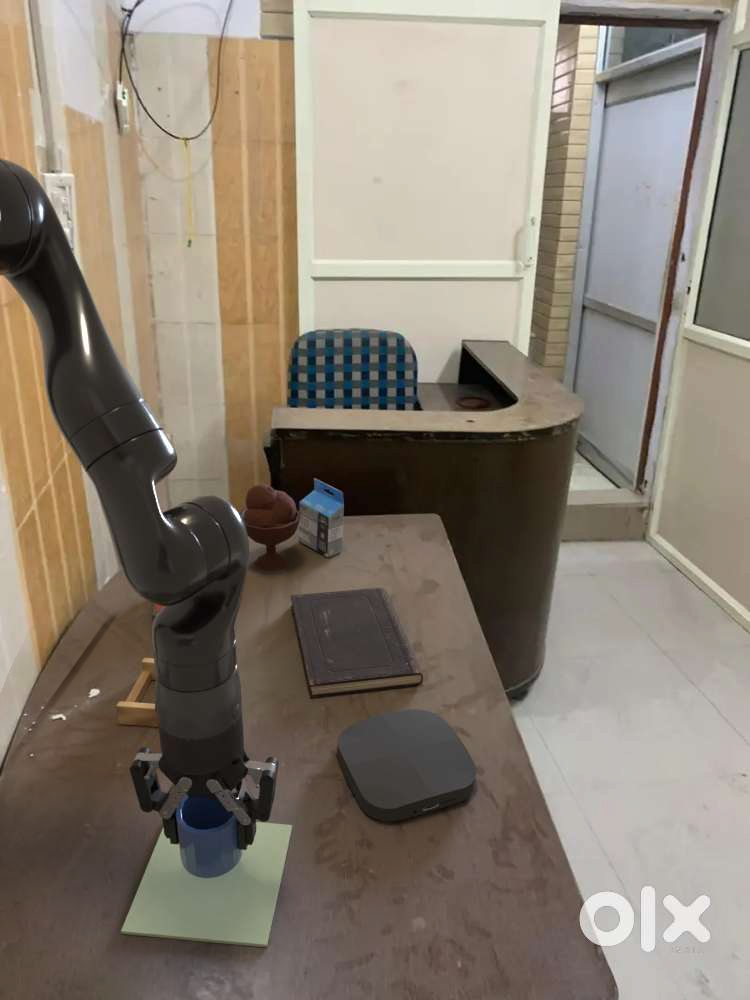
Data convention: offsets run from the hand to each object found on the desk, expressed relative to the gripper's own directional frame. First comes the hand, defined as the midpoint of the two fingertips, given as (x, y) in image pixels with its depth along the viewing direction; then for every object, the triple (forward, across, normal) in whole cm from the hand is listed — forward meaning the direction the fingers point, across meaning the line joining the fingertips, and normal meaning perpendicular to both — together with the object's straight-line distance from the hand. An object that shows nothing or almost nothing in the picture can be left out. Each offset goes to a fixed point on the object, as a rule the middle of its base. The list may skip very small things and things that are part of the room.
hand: (210, 839), depth 76 cm
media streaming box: (+5, -19, -17) cm, 26 cm away
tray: (+5, +12, -26) cm, 29 cm away
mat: (+5, 0, 0) cm, 5 cm away
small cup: (+2, 0, 0) cm, 2 cm away
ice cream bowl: (+5, +7, -65) cm, 66 cm away
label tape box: (+5, -1, -72) cm, 72 cm away
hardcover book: (+5, -10, -42) cm, 43 cm away
